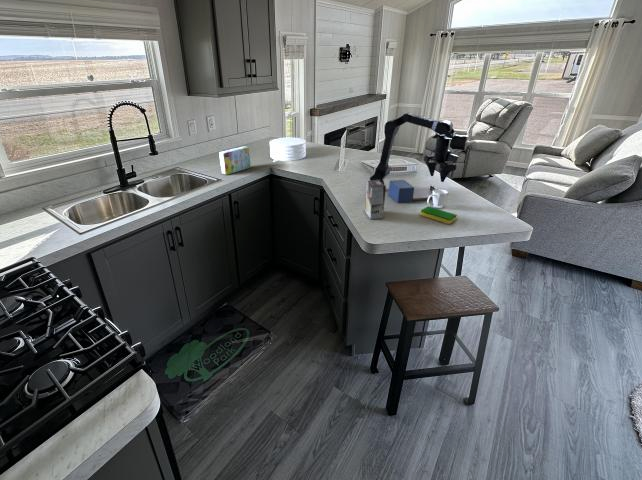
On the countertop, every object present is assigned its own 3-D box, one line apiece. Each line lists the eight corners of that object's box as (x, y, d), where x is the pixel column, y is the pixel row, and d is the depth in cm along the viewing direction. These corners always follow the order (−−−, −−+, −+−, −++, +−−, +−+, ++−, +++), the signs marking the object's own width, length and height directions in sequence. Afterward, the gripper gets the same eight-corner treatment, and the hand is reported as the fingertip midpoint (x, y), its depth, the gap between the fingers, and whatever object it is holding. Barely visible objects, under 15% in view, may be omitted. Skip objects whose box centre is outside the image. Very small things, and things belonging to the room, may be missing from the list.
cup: (448, 208, 161) (451, 193, 158) (431, 211, 158) (433, 195, 155) (438, 202, 167) (441, 188, 164) (422, 205, 165) (424, 190, 161)
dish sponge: (427, 210, 159) (428, 205, 158) (456, 219, 150) (457, 214, 149) (419, 215, 155) (420, 210, 154) (449, 224, 145) (450, 219, 144)
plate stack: (273, 151, 272) (273, 137, 267) (307, 151, 268) (307, 137, 264) (267, 160, 247) (266, 145, 242) (304, 160, 243) (303, 145, 238)
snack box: (246, 166, 234) (244, 145, 228) (250, 167, 231) (249, 146, 225) (221, 173, 221) (218, 151, 215) (225, 175, 217) (223, 153, 211)
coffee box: (383, 218, 153) (386, 186, 146) (370, 219, 152) (372, 187, 146) (377, 210, 161) (379, 179, 154) (364, 211, 161) (366, 180, 154)
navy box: (398, 203, 168) (399, 188, 165) (387, 194, 180) (389, 180, 176) (443, 199, 170) (446, 185, 167) (430, 190, 182) (432, 177, 179)
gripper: (470, 151, 149) (463, 183, 155) (446, 142, 166) (441, 172, 172) (447, 153, 148) (441, 185, 154) (425, 144, 165) (421, 173, 171)
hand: (437, 178), depth 163 cm, fingers open, 9 cm apart
